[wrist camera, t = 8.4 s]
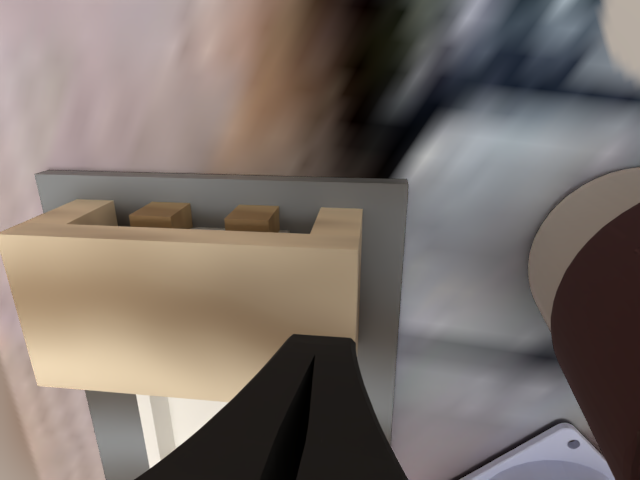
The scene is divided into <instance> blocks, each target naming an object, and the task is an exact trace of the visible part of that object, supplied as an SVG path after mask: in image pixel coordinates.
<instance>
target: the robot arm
mask: <svg viewBox="0 0 640 480" xmlns="http://www.w3.org/2000/svg"><path fill="white" fill-rule="evenodd" d="M571 440H574V441H573V442H569V441H571ZM134 480H408V478H407V477H406V475H405V473H404V471H403V470H402V468H401V466H400V464H399V462H398V460H397V458H396V456H395V454H394V452H393V450H392V449H391V447H390V444H389V442H388V440H387V438H386V436H385V434H384V432H383V430H382V428H381V425H380V423H379V421H378V418H377V416H376V414H375V411H374V409H373V406H372V404H371V401H370V398H369V396H368V393H367V391H366V388H365V385H364V382H363V379H362V375H361V372H360V368H359V364H358V360H357V355H356V343H355V342H354V341H353V339H352V338H347V337H332V336H317V335H302V334H293V335H291V336H290V337H289V338H288V339H287V340H286V341H285V342H284V344H283V345H282V346H281V347H280V348H279V349H278V351H277V352H276V353H275V354H274V355H273V356H272V358H271V359H270V360H269V361H268V362H267V363H266V364H265V365H264V367H263V368H262V369H261V370H260V371H259V372H258V373H257V374H256V375H255V376H254V377H253V378H252V379H251V380H250V381H249V382H248V383H247V384H246V386H245V387H244V388H243V389H242V390H241V391H240V392H239V393H238V394H237V395H236V396H235V397H234V398H233V399H232V400H231V401H230V402H228V403H227V404H226V405H225V406H224V407H223V408H222V409H221V410H220V411H219V412H218V413H217V414H216V415H214V416H213V417H212V418H211V419H210V420H209V421H208V422H207V423H206V424H205V425H204V426H202V427H201V428H200V429H199V430H198V431H197V432H195V433H194V434H193V435H192V436H191V437H190V438H188V439H187V440H186V441H185V442H184V443H182V444H181V445H180V446H179V447H177V448H176V449H175V450H174V451H172V452H171V453H170V454H168V455H167V456H166V457H165V458H163V459H162V460H161V461H159V462H158V463H157V464H155V465H154V466H153V467H151V468H150V469H149V470H147V471H146V472H144V473H143V474H142V475H140V476H139V477H137V478H136V479H134ZM459 480H615V478H614V476H613V474H612V472H611V470H610V468H609V466H608V464H607V462H606V460H605V458H604V456H603V455H602V454H601V453H600V452H599V451H598V450H597V449H596V448H595V447H594V446H593V445H592V444H591V443H590V442H589V441H588V440H587V439H586V438H585V437H584V436H583V435H582V434H581V433H580V432H579V431H578V430H577V429H576V428H575V427H574V426H573V425H571V424H569V423H560V424H557V425H556V426H554V427H552V428H550V429H548V430H547V431H545V432H543V433H541V434H540V435H538V436H536V437H534V438H532V439H531V440H529V441H527V442H525V443H524V444H522V445H520V446H518V447H516V448H515V449H513V450H511V451H509V452H508V453H506V454H504V455H502V456H500V457H499V458H497V459H495V460H493V461H492V462H490V463H488V464H486V465H484V466H483V467H481V468H479V469H477V470H475V471H474V472H472V473H470V474H468V475H467V476H465V477H463V478H461V479H459Z"/></svg>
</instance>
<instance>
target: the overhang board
mask: <svg viewBox="0 0 640 480" xmlns="http://www.w3.org/2000/svg"><path fill="white" fill-rule="evenodd" d="M35 179H36V183H37V187H38V192H39V196H40V200H41V204H42V209H43V213H44V214H41V215H39V216H37V217H34V218H32V219H30V220H27V221H25V222H23V223H20V224H18V225H16V226H13V227H11V228H9V229H6V230H4V231H2V232H0V252H1V256H2V260H3V263H4V267H5V270H6V274H7V278H8V281H9V285H10V288H11V292H12V295H13V299H14V303H15V306H16V310H17V313H18V317H19V321H20V324H21V328H22V331H23V335H24V338H25V342H26V346H27V349H28V353H29V356H30V360H31V364H32V367H33V371H34V374H35V378H36V381H37V385H38V386H45V387H57V388H69V389H80V390H85V393H86V397H87V401H88V405H89V410H90V414H91V418H92V423H93V427H94V431H95V435H96V440H97V444H98V448H99V452H100V457H101V461H102V465H103V470H104V474H105V478H106V480H134V479H136V478H137V477H139V476H140V475H142V474H143V473H144V472H146V471H147V470H149V469H150V467H149V462H148V456H147V451H146V445H145V440H144V435H143V429H142V424H141V419H140V413H139V408H138V403H137V397H136V394H139V395H150V396H162V397H174V398H185V399H197V400H208V401H220V402H230V401H231V400H232V399H233V398H234V397H235V396H236V395H237V394H238V393H239V392H240V391H241V390H242V389H243V388H244V387H245V386H246V384H247V383H248V382H249V381H250V380H251V379H252V378H253V377H254V376H255V375H256V374H257V373H258V372H259V371H260V370H261V369H262V368H263V367H264V365H265V364H266V363H267V362H268V361H269V360H270V359H271V358H272V356H273V355H274V354H275V353H276V352H277V351H278V349H279V348H280V347H281V346H282V345H283V344H284V342H285V341H286V340H287V339H288V338H289V337H290V336H291V335H293V334H302V335H317V336H332V337H347V338H352V339H353V341H354V342H355V343H356V355H357V360H358V364H359V368H360V372H361V375H362V379H363V382H364V385H365V388H366V391H367V393H368V396H369V398H370V401H371V404H372V406H373V409H374V411H375V414H376V416H377V418H378V421H379V423H380V425H381V428H382V430H383V432H384V434H385V436H386V438H387V440H388V442H389V444H390V440H391V426H392V411H393V397H394V383H395V369H396V355H397V340H398V326H399V312H400V298H401V284H402V269H403V255H404V241H405V227H406V213H407V198H408V180H407V179H376V178H337V177H298V176H258V175H219V174H180V173H141V172H102V171H62V170H47V171H43V172H40V173H37V174H35ZM192 227H208V228H225V231H224V230H199V229H191V228H192ZM280 230H288V231H290V233H278V232H279V231H280Z"/></svg>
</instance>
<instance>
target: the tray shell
mask: <svg viewBox="0 0 640 480" xmlns="http://www.w3.org/2000/svg"><path fill="white" fill-rule="evenodd" d="M191 229H199V230H224V231H225V228H208V227H192V228H191ZM278 233H290V231H288V230H280V231H279V232H278ZM136 397H137V403H138V408H139V413H140V419H141V424H142V429H143V435H144V440H145V445H146V451H147V456H148V462H149V467H150V468H151V467H153V466H154V465H155V464H157V463H158V462H159V461H161V460H162V459H163V458H165V457H166V456H167V455H168V454H170V453H171V452H172V451H174V450H175V449H176V448H177V447H179V446H180V445H181V444H182V443H184V442H185V441H186V440H187V439H188V438H190V437H191V436H192V435H193V434H194V433H195V432H197V431H198V430H199V429H200V428H201V427H202V426H204V425H205V424H206V423H207V422H208V421H209V420H210V419H211V418H212V417H213V416H214V415H216V414H217V413H218V412H219V411H220V410H221V409H222V408H223V407H224V406H225V405H226V404H227V403H228V402H220V401H208V400H197V399H185V398H174V397H162V396H150V395H139V394H136Z"/></svg>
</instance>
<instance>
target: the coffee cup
mask: <svg viewBox="0 0 640 480" xmlns="http://www.w3.org/2000/svg"><path fill="white" fill-rule="evenodd" d="M528 278H529V285H530V289H531V293H532V296H533V298H534V300H535V303H536V305H537V307H538V309H539V310H540V312H541V314H542V316H543V318H544V320H545V322H546V324H547V326H548V328H549V330H550V332H551V336H552V343H553V348H554V351H555V355H556V357H557V360H558V362H559V365H560V367H561V369H562V371H563V373H564V375H565V377H566V379H567V381H568V383H569V385H570V388H571V390H572V392H573V394H574V396H575V398H576V400H577V402H578V404H579V406H580V408H581V410H582V412H583V414H584V416H585V418H586V421H587V423H588V425H589V427H590V429H591V431H592V433H593V435H594V437H595V439H596V441H597V443H598V445H599V447H600V449H601V451H602V453H603V456H604V458H605V460H606V462H607V464H608V466H609V468H610V470H611V472H612V474H613V476H614V478H615V480H640V167H637V168H630V169H624V170H620V171H616V172H612V173H609V174H606V175H604V176H601V177H598V178H596V179H594V180H592V181H590V182H588V183H586V184H584V185H583V186H581V187H580V188H578V189H577V190H575V191H574V192H572V193H571V194H570V195H568V196H567V197H565V198H564V199H563V200H562V201H561V202H560V203H559V204H558V205H557V206H556V207H555V208H554V209H553V210H552V211H551V212H550V214H549V215H548V216H547V218H546V219H545V220H544V222H543V223H542V225H541V226H540V228H539V230H538V232H537V234H536V236H535V238H534V240H533V244H532V247H531V250H530V254H529V262H528Z"/></svg>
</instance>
